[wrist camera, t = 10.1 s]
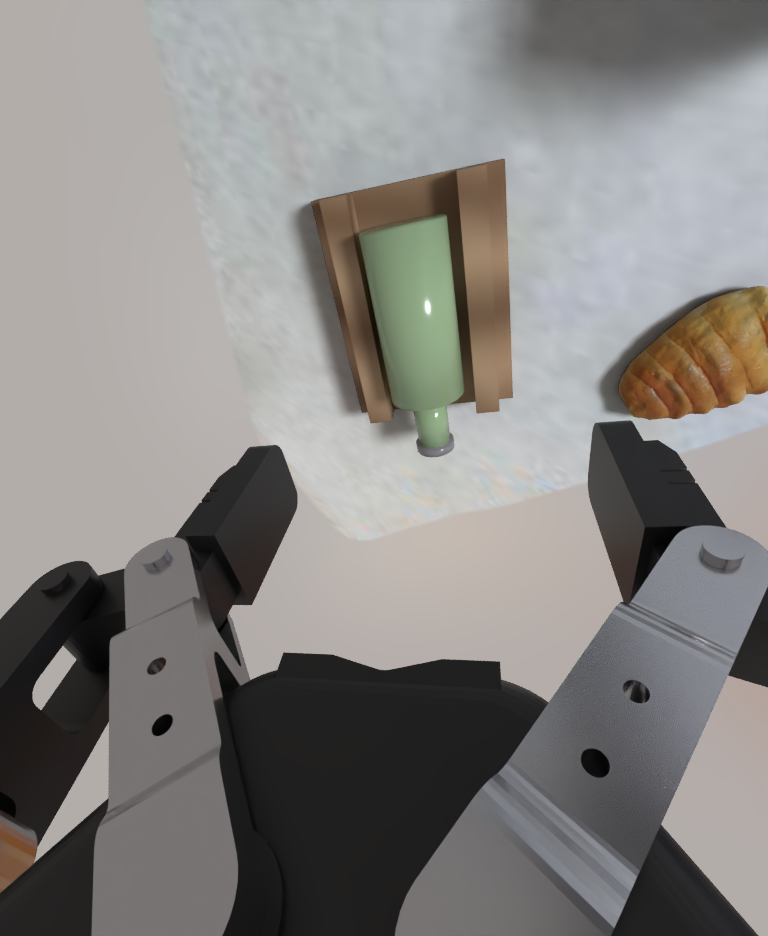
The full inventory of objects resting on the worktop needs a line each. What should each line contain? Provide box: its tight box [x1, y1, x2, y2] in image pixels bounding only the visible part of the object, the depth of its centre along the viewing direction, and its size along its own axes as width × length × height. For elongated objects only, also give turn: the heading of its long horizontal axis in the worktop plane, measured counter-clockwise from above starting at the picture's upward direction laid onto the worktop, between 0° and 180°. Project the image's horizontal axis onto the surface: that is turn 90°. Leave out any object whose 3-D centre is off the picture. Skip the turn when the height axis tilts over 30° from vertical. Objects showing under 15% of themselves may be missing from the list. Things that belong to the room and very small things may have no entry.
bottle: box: [359, 214, 464, 457], centre depth 28 cm, size 14×5×5 cm, turn 11°
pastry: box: [618, 286, 768, 420], centre depth 28 cm, size 9×7×4 cm
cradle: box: [311, 159, 513, 423], centre depth 29 cm, size 14×11×3 cm
